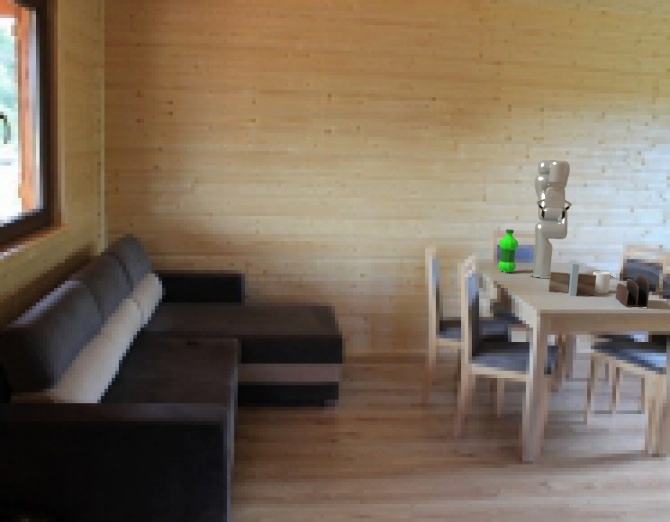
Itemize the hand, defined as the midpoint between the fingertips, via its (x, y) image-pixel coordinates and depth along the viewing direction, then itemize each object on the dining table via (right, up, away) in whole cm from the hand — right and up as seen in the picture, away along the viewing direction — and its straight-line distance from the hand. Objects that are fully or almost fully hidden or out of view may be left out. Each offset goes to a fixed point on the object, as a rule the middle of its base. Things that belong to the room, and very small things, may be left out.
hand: (552, 218), depth 366 cm
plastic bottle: (-13, -29, +44) cm, 55 cm away
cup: (+24, -38, +1) cm, 45 cm away
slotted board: (+7, -38, -7) cm, 40 cm away
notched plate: (+7, -38, -8) cm, 40 cm away
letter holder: (+30, -43, -26) cm, 58 cm away
